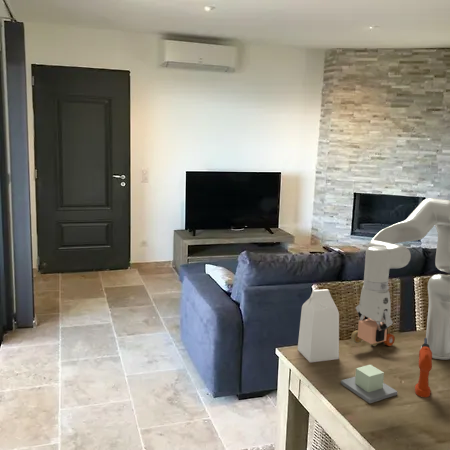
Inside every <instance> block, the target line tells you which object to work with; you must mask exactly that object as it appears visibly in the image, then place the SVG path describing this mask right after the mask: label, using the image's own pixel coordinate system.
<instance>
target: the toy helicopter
mask: <svg viewBox="0 0 450 450" xmlns="http://www.w3.org/2000/svg"><path fill="white" fill-rule="evenodd" d="M369 319H370V318H369ZM385 322H386V320H385ZM391 330H392V325H390V326H389V327H388V328H387V336H386V341H383V342H378V343H374V344H370V345H371V346H373V347H376V346H377V345H378V344H382V343H383V344H384V345H386V346H388V347H391V346H393V345H394V343H395V342H396V341H395V340H396V338H395V336H394V334H392V333H391ZM350 339H351V341H352V342H354V343H356V344H359V343H361V342H362V341H364V340H363V339H361V338H359V337H358V329H357V330H353V332H352V333H351V335H350Z"/></svg>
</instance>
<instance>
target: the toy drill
mask: <svg viewBox="0 0 450 450" xmlns="http://www.w3.org/2000/svg"><path fill="white" fill-rule="evenodd" d="M421 346H422V348H421V347H420V349H419V352H418V357H419V358H418V369H419V377H418V382H417V383H416V384H415V385H414V393H415V394H416V395H417V397H421V398H429V397H430V396H431V391H432V390H431V387H430V386H429V376H430V371H432V369H433V361H432V360H433V358H432V351H431V350H430V347H429V345H428V344H427V338H426V337H424V340H423V343H422V345H421Z"/></svg>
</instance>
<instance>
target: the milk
mask: <svg viewBox="0 0 450 450" xmlns="http://www.w3.org/2000/svg"><path fill="white" fill-rule="evenodd" d="M299 320H300V322H299V333H298V343H297V351H298V352H299V353H300V354H301V355H302V356H303V357H304V358H305V359H306V360H307V361H308V362H309V363H317V362H325V361H331V360H334V361H335V360H339V359H340V346H339V345H340V313H339V310H338V307H337V305H336V304H335V301H334V299H333V297H332V295H331V292H330V290H329V289H328V288H326V289H324V288H323V289H315V290H312V291H311V294H310V297H309V298H308V299H307V300H305V302H304V303H303V304H302V306H301V312H300V319H299Z"/></svg>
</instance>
